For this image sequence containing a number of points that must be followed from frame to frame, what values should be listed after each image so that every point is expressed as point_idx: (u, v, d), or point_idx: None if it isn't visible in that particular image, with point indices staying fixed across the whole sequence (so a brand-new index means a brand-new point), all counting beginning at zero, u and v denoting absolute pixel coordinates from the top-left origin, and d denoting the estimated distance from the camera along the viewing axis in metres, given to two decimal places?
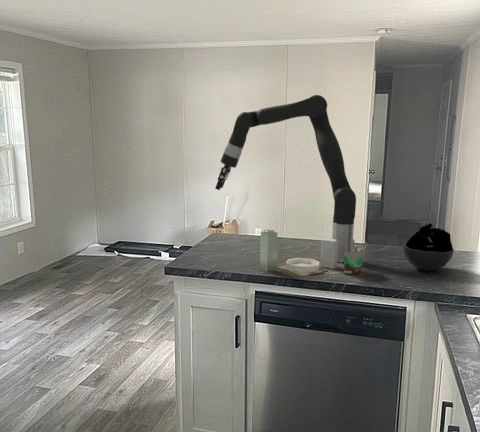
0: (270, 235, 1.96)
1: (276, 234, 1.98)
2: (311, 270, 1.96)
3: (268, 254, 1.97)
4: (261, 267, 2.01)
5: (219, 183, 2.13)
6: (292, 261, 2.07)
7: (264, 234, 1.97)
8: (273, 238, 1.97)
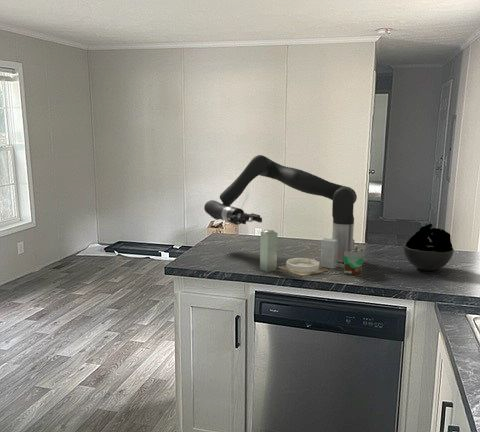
0: (270, 235, 1.96)
1: (276, 234, 1.98)
2: (311, 270, 1.96)
3: (268, 254, 1.97)
4: (261, 267, 2.01)
5: None
6: (292, 261, 2.07)
7: (264, 234, 1.97)
8: (273, 238, 1.97)
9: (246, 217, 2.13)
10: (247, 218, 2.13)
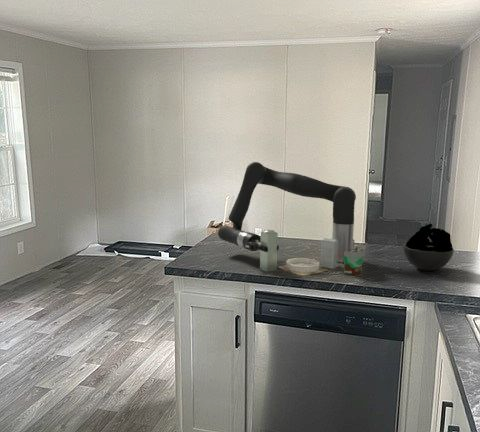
0: (270, 235, 1.96)
1: (276, 234, 1.98)
2: (311, 270, 1.96)
3: (268, 254, 1.97)
4: (261, 267, 2.01)
5: None
6: (292, 261, 2.07)
7: (264, 234, 1.97)
8: (273, 238, 1.97)
9: None
10: None
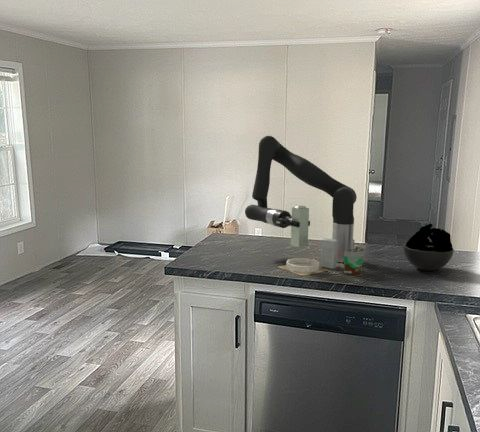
0: (302, 210, 1.95)
1: (308, 209, 1.97)
2: (311, 270, 1.96)
3: (300, 229, 1.96)
4: (292, 243, 2.00)
5: None
6: (292, 261, 2.07)
7: (296, 209, 1.97)
8: (305, 213, 1.97)
9: (292, 220, 2.03)
10: None
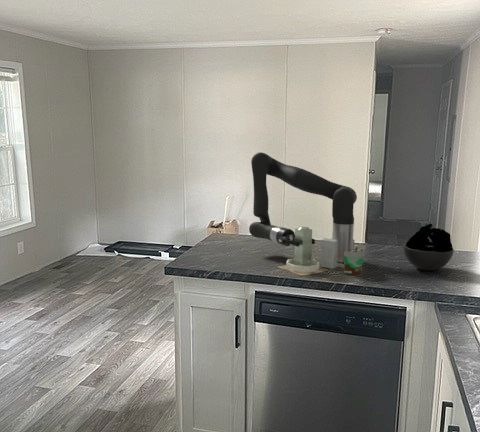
0: (305, 232, 1.97)
1: (311, 231, 1.99)
2: (311, 270, 1.96)
3: (303, 250, 1.98)
4: (295, 264, 2.02)
5: None
6: (292, 261, 2.07)
7: (299, 231, 1.99)
8: (308, 235, 1.99)
9: None
10: None
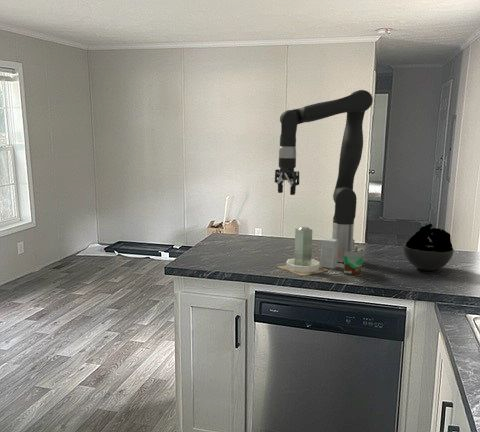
0: (305, 232, 1.97)
1: (311, 231, 1.99)
2: (311, 270, 1.96)
3: (303, 250, 1.98)
4: (295, 264, 2.02)
5: None
6: (292, 261, 2.07)
7: (299, 231, 1.99)
8: (308, 235, 1.99)
9: None
10: (285, 179, 2.12)
